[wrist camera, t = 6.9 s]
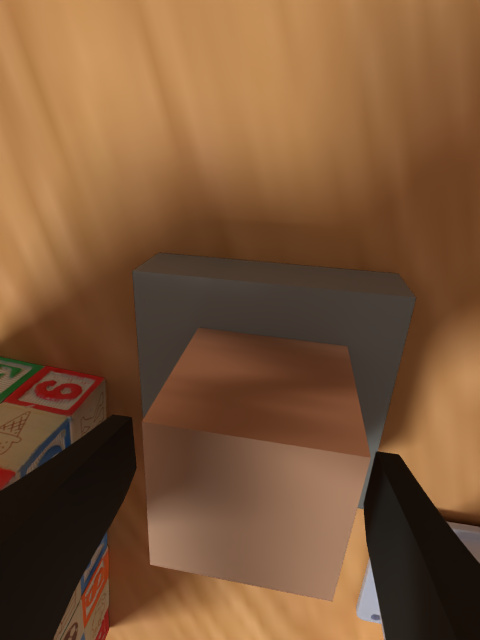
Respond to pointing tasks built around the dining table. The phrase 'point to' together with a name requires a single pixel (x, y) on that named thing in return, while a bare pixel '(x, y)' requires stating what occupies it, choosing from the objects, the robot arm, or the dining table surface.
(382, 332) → the charcoal slab
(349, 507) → the terracotta cube
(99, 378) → the stack of blocks
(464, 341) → the dining table surface
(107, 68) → the dining table surface
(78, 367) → the dining table surface
